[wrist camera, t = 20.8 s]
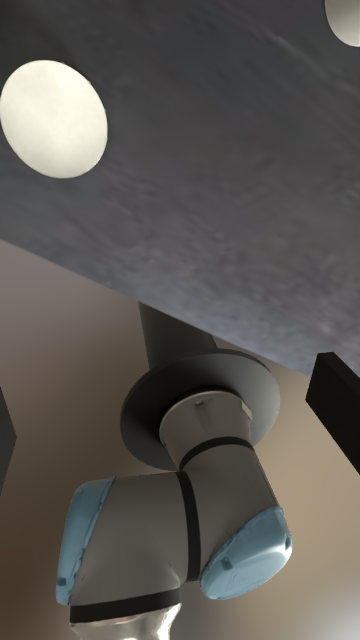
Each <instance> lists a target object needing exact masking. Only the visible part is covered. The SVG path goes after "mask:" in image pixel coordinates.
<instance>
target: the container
mask: <svg viewBox="0 0 360 640" xmlns="http://www.w3.org/2000/svg"><path fill="white" fill-rule="evenodd" d="M325 10H326V15H327V19H328V22H329V25H330V27H331V29H332V31H333V32H334V34H335V35H336V36H337V37H338V38H339V39H340V40H341V41H343V42H344V43H346V44H348V45H351V46H357V47H360V0H325Z"/></svg>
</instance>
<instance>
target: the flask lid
mask: <svg viewBox="0 0 360 640" xmlns="http://www.w3.org/2000/svg"><path fill="white" fill-rule="evenodd" d="M105 111H106V109H104V107H103V104H102V101H101V99H100V97H99V95H98V94H97V92H96V91H95V89H94V88H93V86H92V85H91V83H90V81H88V80H87V79H86V78H85V77H84V76H83V75H81V74H80V73H79V72H77V71H76V70H75V69H73V68H71V67H70V66H67V65H65V64H64V63H60V62H57V61H52V60H36V61H31V62H28V63H26V64H24V65H22V66H20V67H19V68H17V69H16V70H15V71H14V72H13V73H12V74H11V75H10V76H9V78H8V79H7V81H6V83H5V85H4V87H3V90H2V93H1V97H0V120H1V125H2V128H3V131H4V134H5V136H6V139H7V141H8V142H9V144H10V146H11V147H12V149H13V150H14V152H15V153H16V154H17V155H18V157H19V158H20V159H21V160H22V161H23V162H24V163H25V164H27V165H28V166H29V167H31V168H32V169H34V170H35V171H37V172H39V173H41V174H43V175H46V176H49V177H53V178H61V179H66V178H73V177H77V176H80V175H82V174H84V173H86V172H88V171H89V170H90V169H92V168H93V167H94V166H95V165H96V164H97V163H98V161H99V159H100V158H101V156H102V154H103V152H104V149H105V146H106V142H107V140H108V138H107V135H108V124H107V117H106V113H105Z"/></svg>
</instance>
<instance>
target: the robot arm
mask: <svg viewBox="0 0 360 640" xmlns="http://www.w3.org/2000/svg"><path fill="white" fill-rule="evenodd" d="M305 400H306V402H307V403H308V405H309V406H310V407H311V408H312V410H313V411H314V413H315V414H316V415H317V417H318V418H319V420H320V421H321V422H322V424H323V425H324V427H325V428H326V429H327V431H328V432H329V433H330V435H331V436H332V437H333V439H334V440H335V441H336V443H337V444H338V446H339V447H340V448H341V450H342V451H343V453H344V454H345V455H346V457H347V458H348V460H349V461H350V462H351V463H352V465H353V466H354V468H355V469H356V470H357V472H358V473H359V475H360V378H359V377H358V376H357V375H356V374H355V373H354V372H353V371H352V370H351V369H350V368H349V367H348V366H347V365H346V364H345V363H344V362H343V361H342V360H341V359H340V358H339V357H338V356H337V355H336V354H335V353H334V352H327V353H318V354H317V358H316V362H315V366H314V369H313V373H312V377H311V380H310V384H309V388H308V392H307V395H306V399H305ZM250 418H251V419H252V412H251V411H250V410H249V409H248V407H247V405H246V403H245V401H244V399H243V398H242V396H241V395H240V394H239V393H237V392H236V391H234V390H233V389H230V388H228V387H224V386H218V385H208V386H201V387H197V388H193V389H190V390H188V391H186V392H184V393H182V394H180V395H178V396H177V397H175V398H174V399H173V400H172V401H170V402H169V403H168V404H167V406H166V407H165V408H164V410H163V411H162V413H161V415H160V418H159V423H158V428H159V434H160V440H161V442H162V444H163V446H164V447H165V449H166V450H167V451H168V452H169V454H170V457H171V459H172V460H173V462H174V464H175V465H176V467H177V469H178V472H169V473H161V474H151V475H140V476H129V477H118V478H116V476H112V477H111V478H108V479H103V480H95V481H89V482H86V483H84V484H82V485H81V486H80V487H79V488H78V489H77V490H76V492H75V494H74V496H73V498H72V501H71V504H70V508H69V512H68V516H67V520H66V525H65V529H64V535H63V540H62V546H61V552H60V558H59V566H58V578H57V586H56V600H57V602H58V603H60V604H63V605H64V606H66V605H69V603H70V604H71V608H70V628H71V629H72V630H73V631H74V632H75V634H76V635H77V636H78V637H79V638H80V639H81V640H170V634H169V631H170V627H171V624H172V622H173V620H174V618H175V617H176V615H177V613H178V611H179V610H180V608H181V595H180V584H181V583H185V582H191V581H199V584H200V588H201V590H203V593H204V594H205V596H206V597H208V598H210V599H213V600H214V599H216V598H217V599H218V600H223V599H228V598H232V597H235V596H239V595H241V594H244V593H246V592H248V591H250V590H252V589H254V588H256V587H258V586H260V585H261V584H263V583H264V582H266V581H267V580H268V579H270V578H271V577H273V576H274V575H275V574H276V573H277V572H278V571H280V569H281V568H282V567H283V566H284V565H285V564H286V562H287V561H288V559H289V557H290V555H291V552H292V537H291V534H290V531H289V529H288V526H287V523H286V520H285V518H284V515H283V510H282V508H281V507H280V506H279V504H278V501H277V499H276V497H275V495H274V493H273V490H272V488H271V486H270V484H269V482H268V479H267V477H266V475H265V473H264V471H263V468H262V466H261V464H260V462H259V459H258V457H257V455H256V453H255V450H254V448H253V446H252V438H251V432H250ZM16 439H17V437H16V434H15V430H14V428H13V424H12V421H11V418H10V415H9V412H8V409H7V406H6V403H5V400H4V397H3V393H2V390H1V387H0V495H1V491H2V488H3V484H4V481H5V477H6V474H7V470H8V467H9V463H10V460H11V456H12V453H13V449H14V446H15V442H16Z"/></svg>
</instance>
